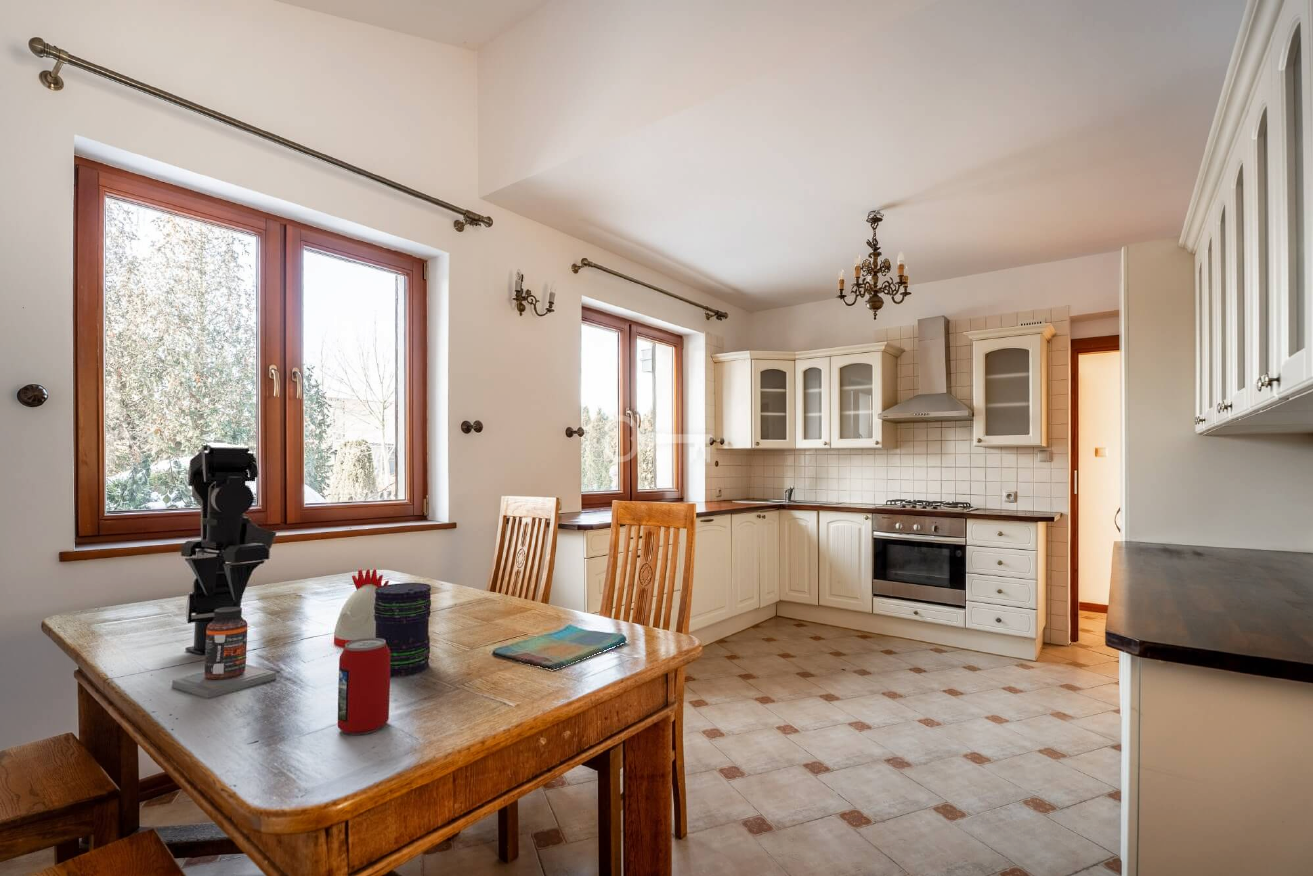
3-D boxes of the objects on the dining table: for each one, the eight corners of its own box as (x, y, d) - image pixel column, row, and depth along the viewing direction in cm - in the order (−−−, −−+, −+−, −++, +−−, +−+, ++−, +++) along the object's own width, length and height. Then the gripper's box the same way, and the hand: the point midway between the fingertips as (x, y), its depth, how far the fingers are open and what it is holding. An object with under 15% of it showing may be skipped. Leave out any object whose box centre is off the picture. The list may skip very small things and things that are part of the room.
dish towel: (629, 646, 137) (629, 634, 137) (553, 675, 118) (554, 661, 118) (568, 633, 147) (568, 622, 147) (489, 659, 127) (489, 646, 127)
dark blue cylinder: (363, 669, 118) (365, 587, 119) (414, 658, 126) (415, 580, 126) (387, 681, 112) (389, 595, 112) (439, 669, 119) (441, 587, 119)
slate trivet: (171, 687, 108) (172, 679, 108) (240, 669, 118) (240, 662, 118) (208, 698, 103) (208, 690, 103) (276, 679, 113) (276, 671, 113)
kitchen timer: (358, 629, 147) (360, 563, 148) (415, 632, 145) (416, 565, 146) (319, 647, 133) (321, 574, 134) (381, 649, 131) (383, 575, 132)
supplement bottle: (224, 682, 107) (227, 613, 108) (195, 679, 108) (197, 611, 109) (254, 671, 113) (256, 606, 113) (225, 668, 114) (228, 604, 115)
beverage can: (348, 719, 95) (350, 637, 96) (395, 717, 96) (397, 636, 96) (328, 738, 88) (331, 649, 89) (379, 736, 89) (381, 648, 90)
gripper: (299, 511, 122) (296, 594, 121) (242, 508, 131) (239, 585, 130) (237, 515, 112) (234, 605, 112) (181, 511, 121) (177, 595, 120)
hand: (223, 597), depth 119 cm, fingers open, 9 cm apart
